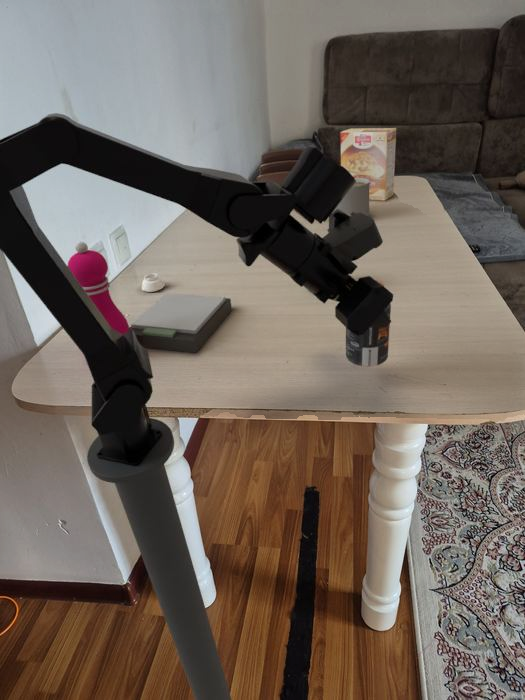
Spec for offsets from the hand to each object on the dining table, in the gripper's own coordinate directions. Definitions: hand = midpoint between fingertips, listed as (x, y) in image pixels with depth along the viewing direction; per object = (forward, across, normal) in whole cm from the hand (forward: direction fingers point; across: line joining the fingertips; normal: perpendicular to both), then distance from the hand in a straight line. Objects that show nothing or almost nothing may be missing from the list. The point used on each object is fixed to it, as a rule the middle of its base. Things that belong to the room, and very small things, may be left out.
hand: (377, 314), depth 66 cm
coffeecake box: (+38, +87, -24) cm, 98 cm away
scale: (-10, +29, +25) cm, 39 cm away
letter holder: (+25, +104, -10) cm, 108 cm away
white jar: (-12, +50, +27) cm, 58 cm away
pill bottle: (+4, 0, +6) cm, 7 cm away
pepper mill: (-26, +25, +27) cm, 45 cm away
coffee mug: (+29, +71, -15) cm, 78 cm away
